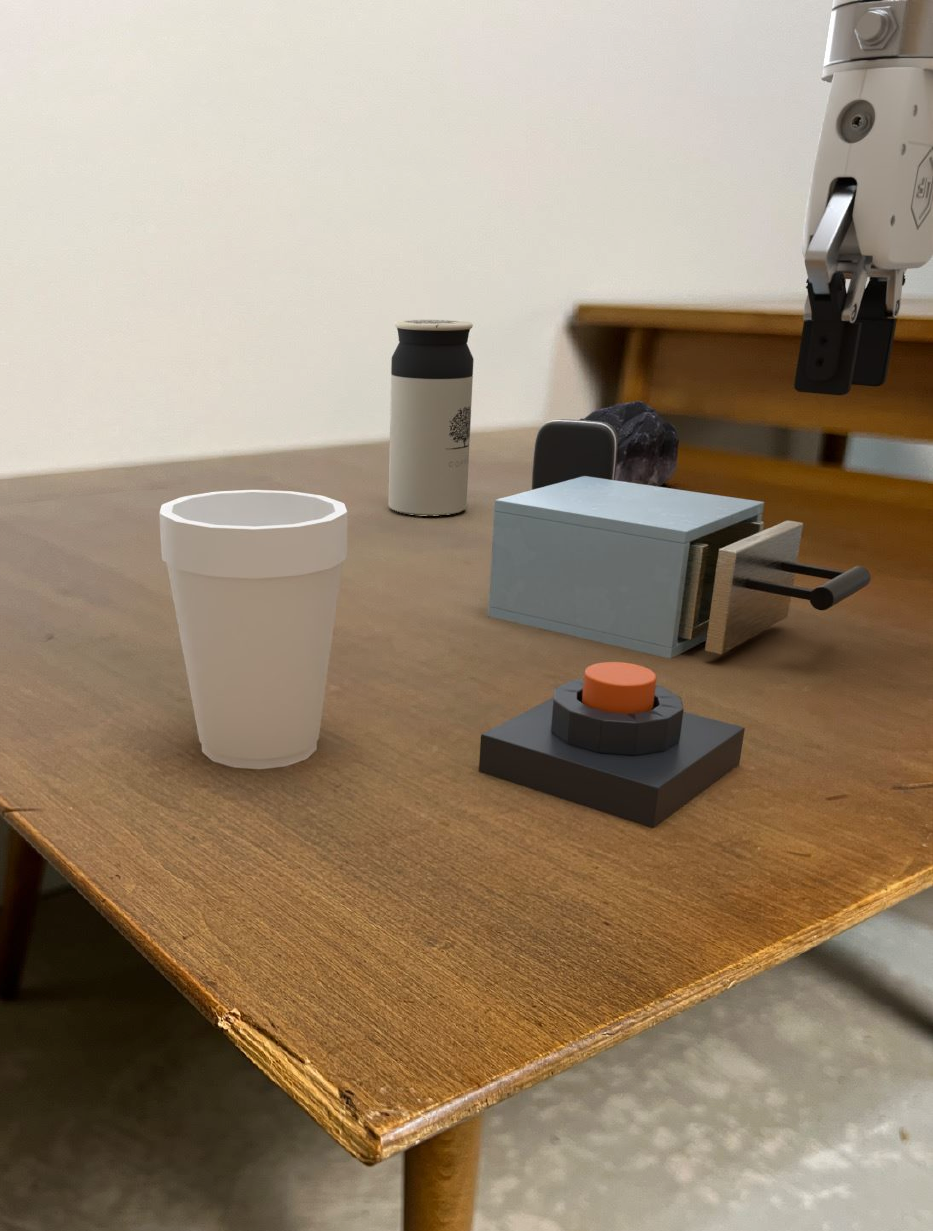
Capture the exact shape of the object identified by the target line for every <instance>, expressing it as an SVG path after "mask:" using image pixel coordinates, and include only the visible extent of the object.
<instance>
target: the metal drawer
mask: <svg viewBox="0 0 933 1231" xmlns="http://www.w3.org/2000/svg"><path fill="white" fill-rule="evenodd" d="M764 525H765V522H764V521H762V520H761V521H755V520H749V519H746V520H743V521H741V522H738V523H736V524H733V525H731V526H728V527H726V528H723V529H720V530H718V531H715V532H713V533H710V534H708V535H705V536H703V537H700V538H698V539H695V540H693V541H690V546H689V553H688V561H687V569H686V577H685V585H684V593H683V601H682V608H681V616H680V624H679V632H678V637H680V638H685V639H689V640H691V639H693V638H695V637H697V636H699V635H701V634H703V633H705V632H707V639H706V640H705V646H704V652H709V653H711V654H712V653H713V654H716V655H723V654H725V653H726V652H728V651H730V650H732V649H733V648H735V647H737V646H739V645H741V644H742V643H744V642H746V641H747V640H750V639H752V638H753V637H754V636H756V635H759V634H760V633H761V632H763V631H765V630H767V629H769V628H770V627H772V626H774V625H776V624H777V623H779V622H781V621H783V620H785V619H786V618H788V617H789V612H790V608H791V607H790V605H791V601H792V598H796V599H801V600H807V601H809V603H810V605H811V606H812V607H813V608H814V610H815V609H816V610H817V611H827V610H828V609H831V608H832V607H834V606H835V605H837V604H839V603H840V602H843V601H844V600H846V599H847V598H849V597H850V596H852V595H854V594H856V593H857V592H859V591H860V590H862V589H864V588H865V587H867V586H868V585H869V584H870V582H871V578H872V576H871V573H870V571H869V569H868V568H866V567H864V566H862V565H856V566H854V567H851V568H850V569H848V570H841V569H835V568H829V567H822V566H818V565H812V564H805V563H801V562H800V563H799V562H798V557H799V552H800V545H801V540H802V534H803V528H804V522H800V521H794V520H784V521H783V522H780V523H777V524H775V525H774V526H771V527H768V528H766V529H764ZM796 574H798V575H804V576H809V577H814V578H821V579H826V580H828V581H826V582H824V583H823V584H821V585H818V586H817V587H816V588H807V587H802V586H797V585H796V586H795V585H794V581H795V576H796Z"/></svg>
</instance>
